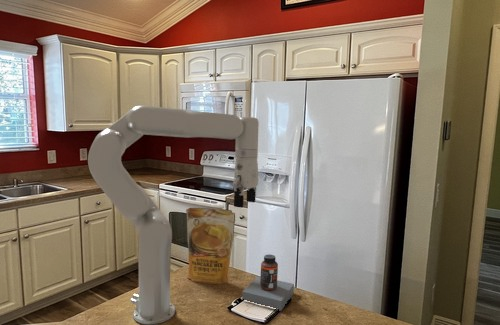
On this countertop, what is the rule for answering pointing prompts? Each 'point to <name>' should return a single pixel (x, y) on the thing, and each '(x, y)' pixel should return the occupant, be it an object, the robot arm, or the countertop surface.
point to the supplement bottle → (269, 273)
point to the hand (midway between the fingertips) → (244, 204)
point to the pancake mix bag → (209, 244)
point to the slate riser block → (269, 294)
